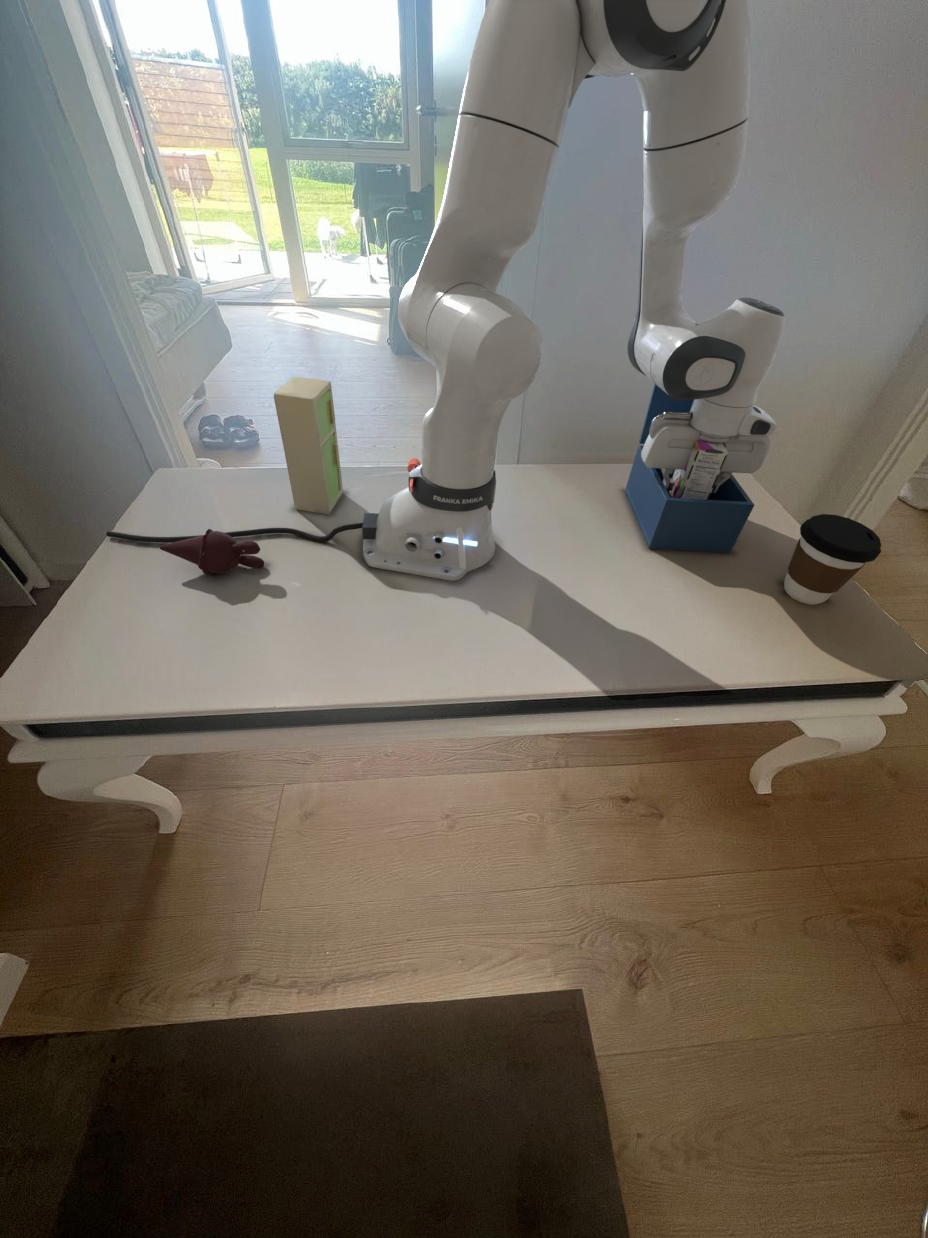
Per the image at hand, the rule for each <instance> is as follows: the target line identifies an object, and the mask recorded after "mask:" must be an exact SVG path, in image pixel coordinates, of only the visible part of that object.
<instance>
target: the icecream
mask: <svg viewBox="0 0 928 1238" xmlns="http://www.w3.org/2000/svg"><path fill="white" fill-rule="evenodd" d="M202 535H203V536H199V537H194V538H190V539H186V540H182V541H178V542H173V543H165V544H162V545H159V550H161V551H163V552H166V553H167V554H170V555H173V556H175V557H178V558H180V559H182V560H185V561H187V562H189V563H191V564H194V565H197V567H198V569H199V570H201V571H202V573H203V575H208V576H209V575H211V574H224V573H228V572H230V571H231V570H232V569H236V568H237V567H238V566H239V565H241V566H244V567H248V568H252V569H261V568H263V567H264V566H265V561H264V560H263V559H262V558H261V557H259V556H256V555H257V554H259V553H260V551H261V547H260V545H259V544H258V543H257V542H256V541H254V540H247V539H246V540H242V541H239V542H237V541H236V540H235V539H234V537H231V536H229V535H228V534H226V532H223V531H219V530H213V529H211V528H208V529H206V531H205V534H202Z"/></svg>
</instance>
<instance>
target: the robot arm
mask: <svg viewBox="0 0 928 1238" xmlns="http://www.w3.org/2000/svg"><path fill="white" fill-rule="evenodd" d="M748 6H749V5H748V2H747V0H488V1H487V5H486V7H485V10H484V13H483V16H482V19H481V22H480V26H479V29H478V32H477V36H476V39H475V42H474V46H473V49H472V53H471V56H470V61H469V64H468V69H467V72H466V77H465V82H464V86H463V91H462V96H461V100H460V106H459V110H458V111H459V112H458V117H457V124H456V129H455V134H454V135H455V136H454V140H453V144H452V145H453V146H452V150H451V157H450V161H449V166H448V167H449V168H448V172H447V178H446V182H445V183H446V184H445V187H444V188H445V189H444V194H443V197H442V201H441V206H440V210H439V213H438V217H437V220H436V223H435V226H434V228H433V232H432V234H431V238H430V240H429V243H428V245H427V248H426V250H425V253H424V255H423V258H422V260H421V262H420V265H419V267H418V270H417V271H416V273H415V274H414V276H412V277H411V278H410V279H409V280H408V281H407V283H406V284H405V285H404V286H403V289H402V290H401V292H400V296H399V299H398V303H397V319H398V324H399V326H400V329H401V331H402V333H403V335H404V336H405V338H406V340H407V341H408V343H409V345H410V346H411V348H412V349H413V351H414V352H415V353H416V354H417V355H418V356H420V357H421V358H422V359H424V360H425V361H427V362H428V363H430V365H432V366H433V367H434V368H435V370H436V372H437V374H438V389H437V394H436V397H435V402H434V404H433V407H431V408H430V409H429V410H428V411H427V412H426V413H425V415H424V416H423V418H422V422H421V461H420V460H419V459H418V458H415V457H414V458H410V460H408V463H407V472H408V486H407V487H406V488H403V489H402V490H400V491H398V492H397V493H395V494H393V495H391V496H390V497H388V498H387V499H386V500H385V501H383V503H382V505H381V508H380V509H379V511H378V513H377V512H376V513H375V512H364V515H363V520H362V522H358V523H351V524H345V525H341V526H338V527H335V528H334V529H332V530H331V531H330V532H329V533H328V534H327V535H322V536H321V535H320V536H319V535H313V534H310V533H308V532H305V531H302V530H299V529H296V528H291V527H266V528H265V527H264V528H255V529H247V530H235V531H227V532H226V531H225V533H226V534H228V535H229V536H231V537H232V538H238V537H249V536H257V535H268V534H287V535H288V534H289V535H294V536H298V537H300V538H304V539H306V540H308V541H309V540H310V541H313V542H317V543H325V542H329V541H331V540H333V539H334V537H336V535H338V534H340V533H342V532H347V531H353V530H360V529H361V531H362V539H363V541H362V556H363V559H364V561H365V562H366V564H367V565H368V566H369V567H371V568H374V569H375V568H376V569H380V570H386V571H392V572H399V573H404V574H410V575H416V576H422V577H427V578H433V579H439V580H445V581H451V582H456V581H459V580H460V579H462V578H463V577H465V575H466V574H468V573H469V572H472V571H473V570H476V569H478V568H479V569H480V568H481V567H483V566H485V565H486V564H487V563H488V562H490V561H491V560H492V559H493V557H494V555H495V553H496V543H495V539H494V534H493V524H492V510H493V506H494V503H495V499H496V498H495V497H496V490H497V475H496V470H495V464H496V455H497V446H498V440H499V434H500V433H499V432H500V429H501V425H502V422H503V418H504V416H505V413H506V411H507V410H508V408H509V405H510V404H511V402H512V401H513V400H514V399H516V398H517V397H518V398H519V396H521V395H522V394H523V393H525V392H526V391H527V390H528V388H530V386H531V385H532V384H533V382H534V380H535V379H536V377H537V375H538V373H539V372H540V368H541V365H542V363H543V358H544V341H543V340H544V339H543V335H542V333H541V331H540V329H539V327H538V325H537V324H536V322H534V320H533V319H532V318H531V317H530V316H529V315H528V313H526V312H525V311H524V310H523V308H522V307H520V305H518V304H517V303H516V302H515V301H513V300H511V299H510V298H507V296H503V295H501V294H499V293H497V291H498V288H499V285H500V283H501V281H502V278H503V276H504V274H505V273H506V271H507V269H508V267H509V265H510V264H511V262H512V260H513V259H514V258H515V256H516V255H517V254H518V253H519V252H520V251H521V250H522V249H524V247H527V246H528V245H529V243H531V242H532V241H533V239H534V237H535V236H536V233H537V231H538V229H539V225H540V221H541V218H542V214H543V211H544V207H545V202H546V199H547V195H548V191H549V188H550V184H551V180H552V177H553V173H554V169H555V166H556V163H557V162H556V161H557V157H558V154H559V150H560V147H561V143H562V140H563V135H564V132H565V131H564V130H565V127H566V123H567V117H568V113H569V109H570V108H571V106H572V103H573V100H574V98H575V95H576V94H577V92H578V89H579V87H580V86H581V84H582V82H583V81H584V80H586V79H591V78H595V77H607V78H618V77H619V78H620V77H623V76H627V75H631V76H632V77H633V79H634V81H635V83H636V86H637V88H638V91H639V94H640V97H641V104H642V110H643V117H642V163H643V164H642V169H643V209H642V222H641V230H640V231H641V232H640V246H639V247H640V249H639V270H638V271H639V275H638V296H637V297H638V298H637V300H638V301H637V308H636V313H635V317H634V320H633V324H632V327H631V330H630V333H629V336H628V341H627V356H628V359H629V363H631V366H632V367H633V368H634V369H635V370H636V371H637V372H638V373H640V374H642V375H644V376H645V377H646V378H648V379H649V380H650V381H651V382H653V384H654V383H655V384H656V385H657V386H658V387H660V388H661V389H662V390H663V391H664V392H665V393H666V394H668V395H669V396H671V397H673V398H675V399H677V400H683V401H687V400H694V401H693V404H692V407H691V410H690V413H685V412H678V413H673V412H664V413H663V414H660V415H658V416H656V417H655V418H654V419H653V421H652V423H651V426H650V430H649V435H648V437H647V440H646V442H645V444H643V446H644V447H643V449H642V452H641V457H642V460H643V462H644V463H645V465H646V466H647V467H648V468H661V470H662V473H663V477H664V479H663V482H662V483H663V485H664V486H665V488H666V490H667V491H672V489H673V488H672V487H673V486H674V484H675V482H674V481H673V479H672V478H669V474H672V473H673V470H674V469H680V470H685V468H686V466H687V463H688V460H689V458H690V455H691V452H692V450H693V446H694V444H695V442H696V440H705V441H708V442H713V443H723V442H725V445H726V448H727V451H728V455H727V457H726V459H725V461H724V464H723V466H722V469H721V471H720V473H719V476H718V478H717V481H716V483H715V485H714V487H713V490H712V492H711V493H716V492H717V490H718V488H719V486H720V485H721V484H723V483H724V482H725V481H726V480H727V479H729V478H730V476H731V474H732V475H733V473H734V474H750V475H751V474H752V475H753V474H755V473H756V472H757V471H759V470H761V468H762V466H763V464H764V462H765V461H766V458H767V457H768V456H767V455H768V453H769V450H770V448H771V444H772V439H771V437H770V436H772V435H773V434H774V433H775V431H776V430H777V427H778V425H777V423H776V421H775V420H774V419H773V418H772V417H771V415H769V414H768V413H767V412H766V411H765V410H764V409H762V408H760V407H759V406H758V405H757V406H756V405H755V404H756V401H757V399H758V398H757V396H758V392H759V388H760V386H761V384H762V383H763V381H764V380H765V379H766V378H767V377H768V374H769V372H770V370H771V368H772V365H773V363H774V361H775V358H776V356H777V353H778V351H779V348H780V346H781V343H782V339H783V336H784V333H785V329H786V315H785V314H784V312H783V311H782V310H781V309H779V308H778V307H777V306H773V305H772V304H770V303H766V302H764V301H762V300H758V299H755V298H752V297H739V298H736V299H735V300H734V301H733V303H732V304H731V305H730V306H729V307H727V308H726V309H724V310H722V311H721V312H719V313H717V314H715V315H713V316H711V317H709V318H706V319H703V320H700V321H695V319H693V318H691V316H690V315H689V314H688V312H687V310H686V308H685V305H684V303H683V288H684V280H685V279H684V278H685V268H686V259H687V249H688V245H689V241H690V238H691V236H692V234H693V232H694V230H695V229H696V228H697V227H698V226H699V225H701V224H703V223H704V222H706V221H708V220H709V219H710V218H712V217H713V216H714V215H715V214H717V212H718V211H720V209H722V207H723V206H724V205H725V204H726V203H727V201H728V200H729V199H730V197H732V195H733V193H734V191H735V190H736V188H737V185H738V183H739V179H740V175H741V172H742V167H743V163H744V160H745V159H744V158H745V153H746V146H747V138H748V127H749V115H750V100H751V77H752V76H751V74H752V72H751V71H752V69H751V68H752V67H751V65H752V63H751V57H752V55H751V54H752V53H751V31H750V30H751V29H750V16H749V7H748ZM662 416H663V418H660V417H662ZM203 535H204V534H201V535H198V534H197V535H185V536H184V535H183V536H182V535H181V536H147V535H146V536H145V535H137V534H129V533H123V532H118V531H111V530H107V531H106V537H109V538H114V539H120V540H128V541H133V542H141V543H165V544H169V543H173V542H178V541H182V540H186V539H190V538H194V537H199V536H203Z"/></svg>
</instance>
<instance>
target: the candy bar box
mask: <svg viewBox="0 0 928 1238" xmlns="http://www.w3.org/2000/svg"><path fill="white" fill-rule="evenodd" d="M727 455H728V451H727V448H726V445H725V442H723V443H713V442H708V441H705V440H696V442H695V444H694V446H693V450H692V452H691V455H690V458H689V460H688V463H687V466H686V468H685V470H680V469H675V470H674V473H673V476H672V479H673V481H674V482H675V484H674V486H673V487H672V488H673V489H672V491H667V492H668V494H669V496H670V498H684V499H702V500H708V499H709V497H710V494H711V492H712V490H713V487H714V485H715V483H716V481H717V478H718V476H719V473H720V471H721V469H722V466H723V464H724V461H725V459H726V457H727Z"/></svg>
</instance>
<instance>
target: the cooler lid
mask: <svg viewBox="0 0 928 1238" xmlns="http://www.w3.org/2000/svg"><path fill="white" fill-rule="evenodd" d="M693 401H694V400H687V401H683V400H677V399H675V398H673V397H671V396H669V395H668V394H666V393H665V392H664V391H663V390H662V389H661V388H660V387H658V386H657V385H656V384H655V383H654V382H653V386H652V390H651V395H650V398H649V402H648V405H647V410H646V414H645V417H644V420H643V421H644V422H643V425H642V428H641V433H640V436H639V440H638V443H639V444H640V445H641V444H642V445H644V444H645V442H646V440H647V437H648V435H649V430H650V426H651V423H652V421H653V419H654V418H655V417H656V416H658V415H660V414H663V413H664V412H673V413H678V412H685V413H690V410H691V407H692V404H693ZM660 418H663V416H662V417H660Z"/></svg>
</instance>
